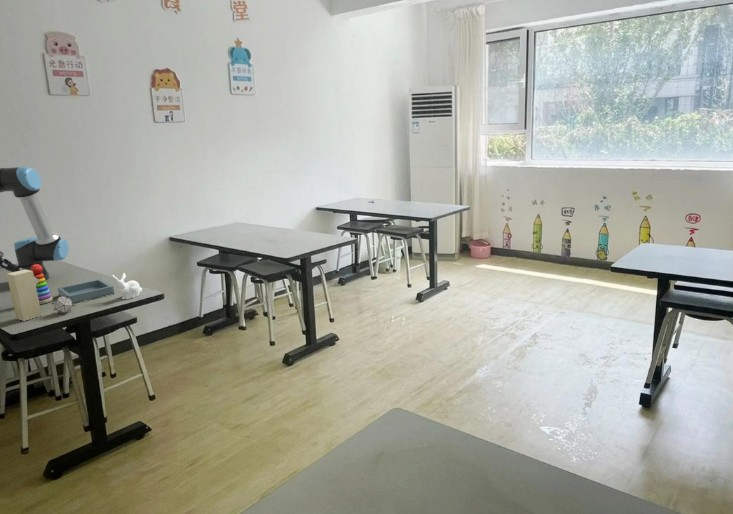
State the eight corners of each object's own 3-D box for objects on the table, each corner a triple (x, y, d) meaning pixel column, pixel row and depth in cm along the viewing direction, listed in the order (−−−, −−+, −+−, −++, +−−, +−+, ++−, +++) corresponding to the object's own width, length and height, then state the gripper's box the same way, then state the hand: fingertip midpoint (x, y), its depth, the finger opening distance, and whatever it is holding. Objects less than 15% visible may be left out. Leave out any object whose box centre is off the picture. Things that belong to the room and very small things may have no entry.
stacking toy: (56, 299, 266) (49, 262, 261) (45, 304, 258) (37, 266, 253) (41, 299, 267) (33, 262, 262) (30, 305, 259) (21, 267, 254)
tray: (59, 295, 271) (57, 288, 270) (101, 286, 284) (100, 278, 283) (70, 304, 257) (68, 296, 256) (114, 294, 269) (113, 286, 268)
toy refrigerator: (34, 313, 247) (24, 268, 241) (42, 316, 243) (32, 270, 237) (15, 319, 240) (5, 273, 235) (23, 322, 236) (13, 275, 231)
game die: (63, 320, 247) (58, 300, 250) (80, 312, 247) (75, 292, 250) (50, 317, 239) (45, 296, 242) (67, 309, 239) (62, 288, 242)
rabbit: (124, 301, 257) (119, 277, 254) (112, 298, 262) (108, 274, 259) (146, 294, 267) (142, 270, 264) (134, 291, 272) (131, 268, 269)
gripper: (-21, 257, 253) (23, 281, 266) (-12, 267, 234) (34, 291, 248) (-9, 244, 255) (33, 268, 268) (0, 252, 236) (45, 278, 250)
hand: (34, 279), depth 258 cm, fingers open, 13 cm apart
